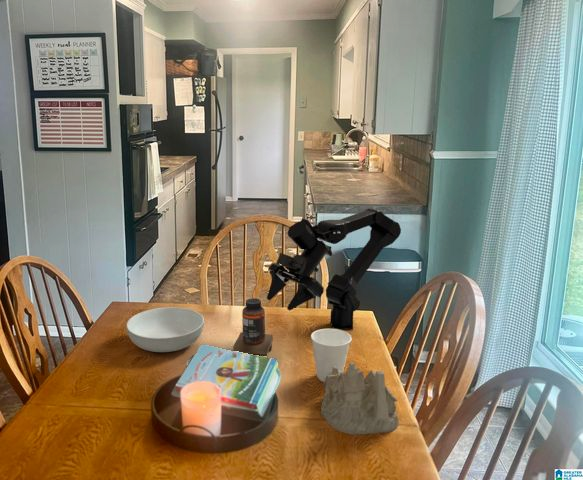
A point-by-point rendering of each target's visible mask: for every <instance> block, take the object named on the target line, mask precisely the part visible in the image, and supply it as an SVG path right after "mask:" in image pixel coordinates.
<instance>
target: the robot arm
mask: <svg viewBox="0 0 583 480" xmlns="http://www.w3.org/2000/svg"><path fill="white" fill-rule="evenodd" d="M366 227H369V228H371V229H370V231H369V240H368V241H367V242H366V243H365V245H364V246H363V248H362V249H361V251H360V252H359V253H358V254H357V256H356V257H355V258H354V260H353V261H352V263H350V265H349V267H348V268H347V270H346V271H345V272H344V273H342V274H337V273H336V274H334V275H333V276H332V278H331V280H330V281H329V282H327V286H326V288H325V287H324V286H323V285H322V284H321V283H320V282H319V281H318V280H317V279H316V278H314V277H312V275H313V273H318V271H319V268H318V266H319V265H320V263H321V261H322V260H323V259H324V257H325V256H329V257H332V256H333V251H332V246H330V245H328V244H326V243H329V244H332V245H336V244H337V245H338V244H339V243H340V242H341V241H344V240H345V239H346V237H347V235H349V234H351V233H353V232H355V231H356V232H357V231H358V230H361V229H364V228H366ZM401 231H402V229H401V226H400V223H399V222H397V221H395V220H393V219H392V218H390V217H388V216H387V215H386V214H384V213H383V211H381V210H379V209H375V208H371V207H370V208H366V209H365V210H364V211H361V212H358V213H355V214H352V215H350V216H346V217H343V218H340V219H326V220H325V219H323V220H320V221H318V223H317V224H314V225H313V226H312V224H311V222H310V221H309V219H306V218H302V219H301V220H300V221H297V222H295V223H294V224H292V225H290V227H289V228H288V230H287V236H288V238H289V239H291V241H292V242H293V243H294V244H295V245H296V246H297V247H298V248H299V249H300V250H302V252H301V253H300V254H298V253H296V254H294V256H290V255H287V254H285V253H282V252H280V253H279V255H278V258H277V261H276V262H272V263H271V264H270V265H269V267H268V268H267V269H268V271H269V275H270V276H271V281H270V286H269V290H268V292H267V295H266V299H267V300H268V301H271V300H272V299H273V298H274V297H276V295H277V294H279V293H280V292H281V291H282V290H283V289H284V288H286V286H288V285H287V282H289V281H291V282H294V283H295V284H297V291H296V292H295V294H294V295H293V297H292V299H291V300H290V302H289V303H288V305H287V307H286V309H287V311H291V310H293V309H296V308H297V307H298V306H300V305H302V304H304V303H306V302H308V301H310V300H313V299H317V297H318V298H319V299H320V298H321V297H322V295H323V294H324V290H325V297H326V299H327V301H328V304H329V305H331V306H332V308H331V309H330V325H331V329H338V330H353V329H354V312H356V311H357V310H359V309H360V305H361V301H360V300H359V299H358V298H357V296H356V295H357V293H358V284H359V282H360V281H361V279H362V278H363V277H364V275H365V274H366V272H368V269H369V268H370V267H371V266H372V265H373V263H374V261H375V260H376V258H377V257H378V256H379V254H380V253H381V252H382V251H383V249H384V248H387V247H389V246H390V245H393V244H394V242H395V241H396V240H397V239H398V238H399V237H400V235H401V233H402V232H401Z"/></svg>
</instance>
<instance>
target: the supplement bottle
mask: <svg viewBox="0 0 583 480" xmlns="http://www.w3.org/2000/svg"><path fill="white" fill-rule="evenodd" d="M265 313H266V311H265V308H264V307H263V306H262V300H261V299H260V298H255V297H254V298H253V297H251V298H248V299H246V300H245V307H243V308H242V313H241V314H242V315H241V316H242V332H243V341H244V342H246V343H248V344H259V343H261V342H263V341H264V339H265V334H266V321H265V320H266V318H265V317H266V316H265V315H266V314H265Z"/></svg>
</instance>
